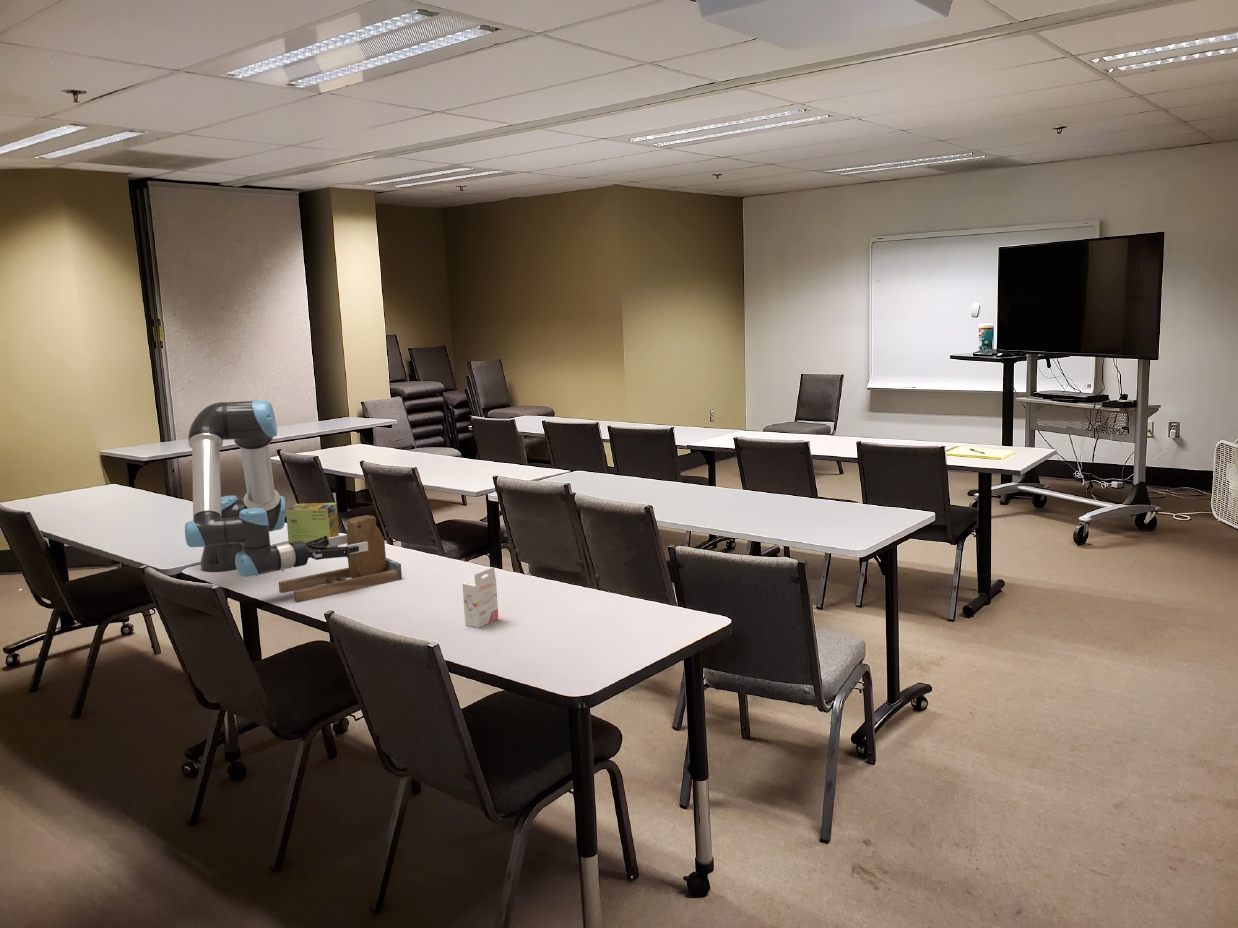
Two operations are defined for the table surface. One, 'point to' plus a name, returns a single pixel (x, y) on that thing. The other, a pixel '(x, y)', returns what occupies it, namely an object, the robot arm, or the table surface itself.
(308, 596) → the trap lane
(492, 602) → the ink cartridge box
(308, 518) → the protein box
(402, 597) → the table surface
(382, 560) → the block
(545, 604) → the table surface
